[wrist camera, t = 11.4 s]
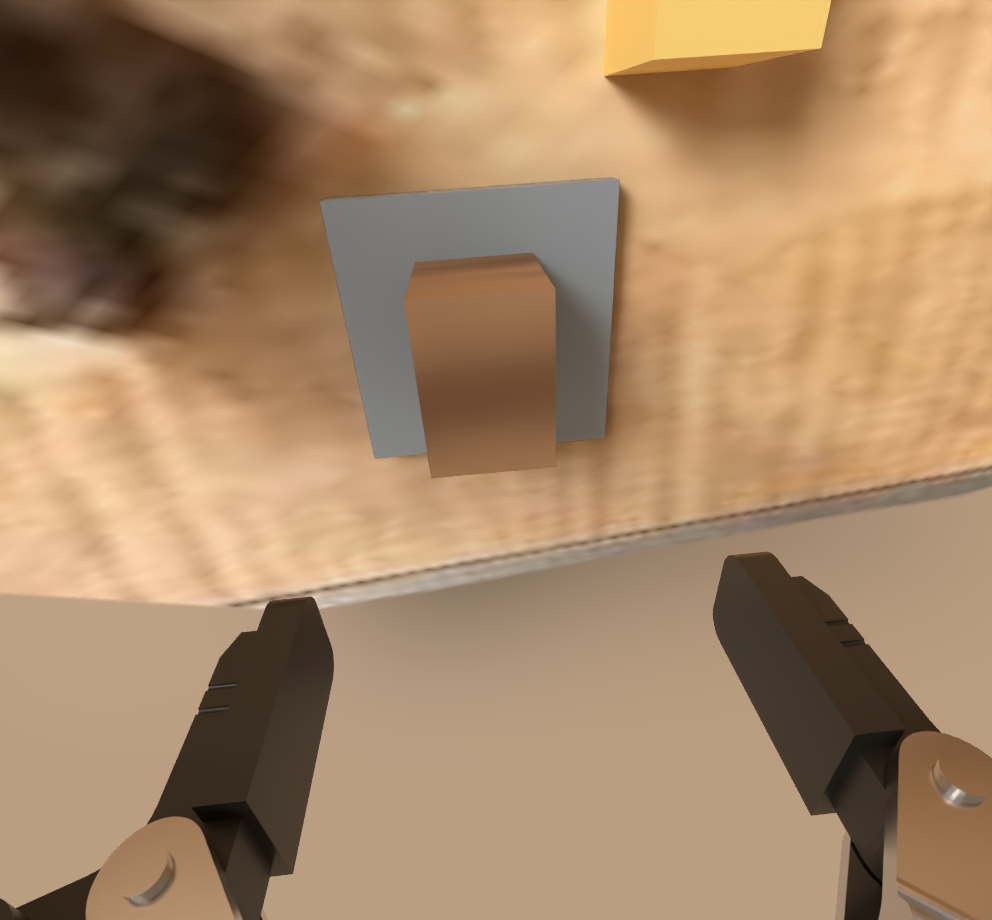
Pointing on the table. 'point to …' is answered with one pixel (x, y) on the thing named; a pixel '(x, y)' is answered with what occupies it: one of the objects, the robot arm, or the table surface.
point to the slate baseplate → (466, 234)
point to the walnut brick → (484, 363)
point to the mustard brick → (708, 33)
